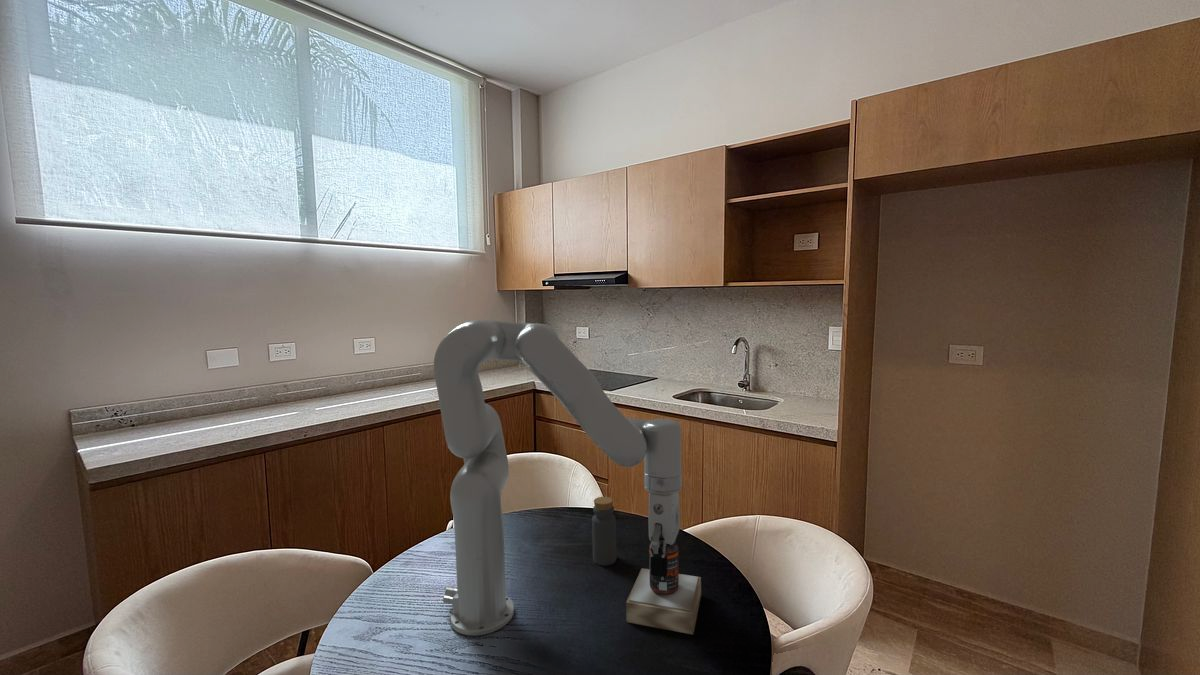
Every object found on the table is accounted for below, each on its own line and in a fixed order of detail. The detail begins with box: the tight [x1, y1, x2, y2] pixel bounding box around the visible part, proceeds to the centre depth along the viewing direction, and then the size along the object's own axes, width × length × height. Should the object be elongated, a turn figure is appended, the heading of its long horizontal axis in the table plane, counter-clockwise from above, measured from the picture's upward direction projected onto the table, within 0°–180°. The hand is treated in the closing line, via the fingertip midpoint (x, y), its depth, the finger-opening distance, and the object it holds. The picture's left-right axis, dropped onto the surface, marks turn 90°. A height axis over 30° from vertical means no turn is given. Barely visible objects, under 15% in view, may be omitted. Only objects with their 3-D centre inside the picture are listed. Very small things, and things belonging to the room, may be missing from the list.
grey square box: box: [625, 567, 702, 635], centre depth 98 cm, size 13×13×4 cm
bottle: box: [591, 496, 617, 566], centre depth 117 cm, size 6×6×15 cm
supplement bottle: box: [648, 538, 680, 595], centre depth 97 cm, size 6×6×11 cm
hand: (663, 563), depth 97 cm, fingers open, 9 cm apart
